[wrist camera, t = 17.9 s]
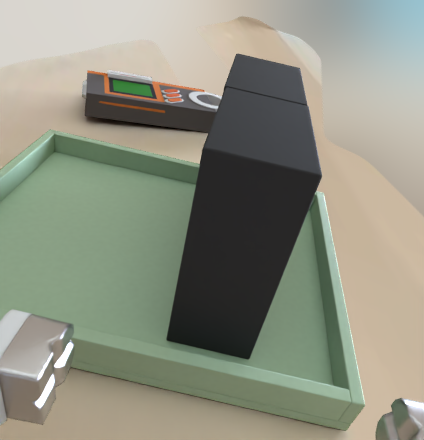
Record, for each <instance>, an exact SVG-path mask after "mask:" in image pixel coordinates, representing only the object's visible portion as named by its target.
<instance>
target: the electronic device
mask: <svg viewBox="0 0 424 440" xmlns="http://www.w3.org/2000/svg"><path fill="white" fill-rule="evenodd" d="M82 97H83V98H85V99H86V105H85V116H90V117H98V118H105V119H113V120H120V121H127V122H135V123H142V124H150V125H157V126H165V127H172V128H180V129H187V130H195V131H202V132H209V131H210V128H211V125H212V123H213V120H214V117H215V114H216V112H217V109H218V106H219V104H220V101H221V98H222V97H221V96H219V95H216V94H212V93H208V92H205V91H204V90H201V89H195V88H189V87H183V86H177V85H171V84H165V83H159V82H153V81H152V77H147V76H141V75H135V74H130V73H124V72H118V71H112V70H108V73H107V74H106V73H100V72H94V71H88V73H87V80H85V81H84V82H83V88H82Z"/></svg>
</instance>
